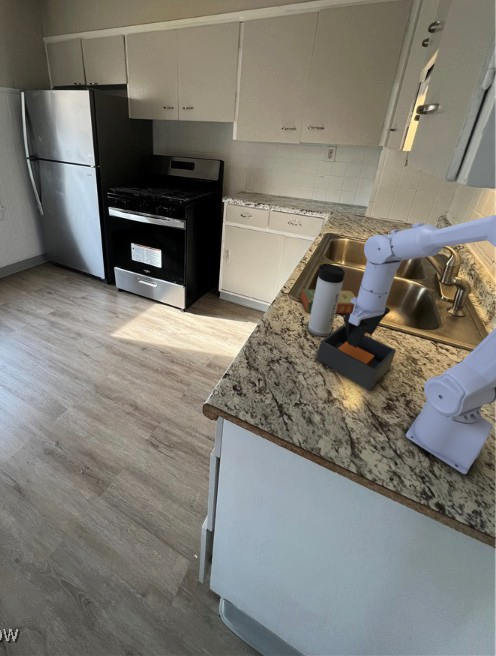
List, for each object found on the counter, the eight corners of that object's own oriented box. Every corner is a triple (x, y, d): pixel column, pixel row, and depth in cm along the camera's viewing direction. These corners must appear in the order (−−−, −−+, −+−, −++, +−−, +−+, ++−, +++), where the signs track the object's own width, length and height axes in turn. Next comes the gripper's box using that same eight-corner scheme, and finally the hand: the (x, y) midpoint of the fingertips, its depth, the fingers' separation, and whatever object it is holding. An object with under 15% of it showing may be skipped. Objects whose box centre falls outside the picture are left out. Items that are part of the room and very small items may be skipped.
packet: (371, 365, 76) (374, 355, 75) (362, 373, 73) (366, 364, 72) (343, 350, 81) (346, 341, 79) (335, 358, 78) (337, 348, 77)
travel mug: (305, 322, 93) (317, 260, 84) (328, 324, 92) (342, 262, 83) (308, 335, 87) (321, 270, 78) (332, 337, 86) (349, 272, 78)
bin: (389, 368, 76) (396, 349, 74) (369, 390, 69) (376, 371, 67) (338, 341, 85) (343, 324, 82) (316, 359, 78) (320, 341, 76)
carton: (358, 314, 97) (361, 303, 95) (306, 312, 98) (308, 301, 96) (348, 300, 105) (351, 289, 103) (300, 299, 105) (302, 287, 103)
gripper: (371, 272, 75) (357, 320, 81) (341, 290, 66) (328, 342, 72) (402, 283, 70) (386, 333, 76) (375, 304, 61) (358, 358, 67)
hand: (360, 338), depth 74 cm, fingers open, 7 cm apart
